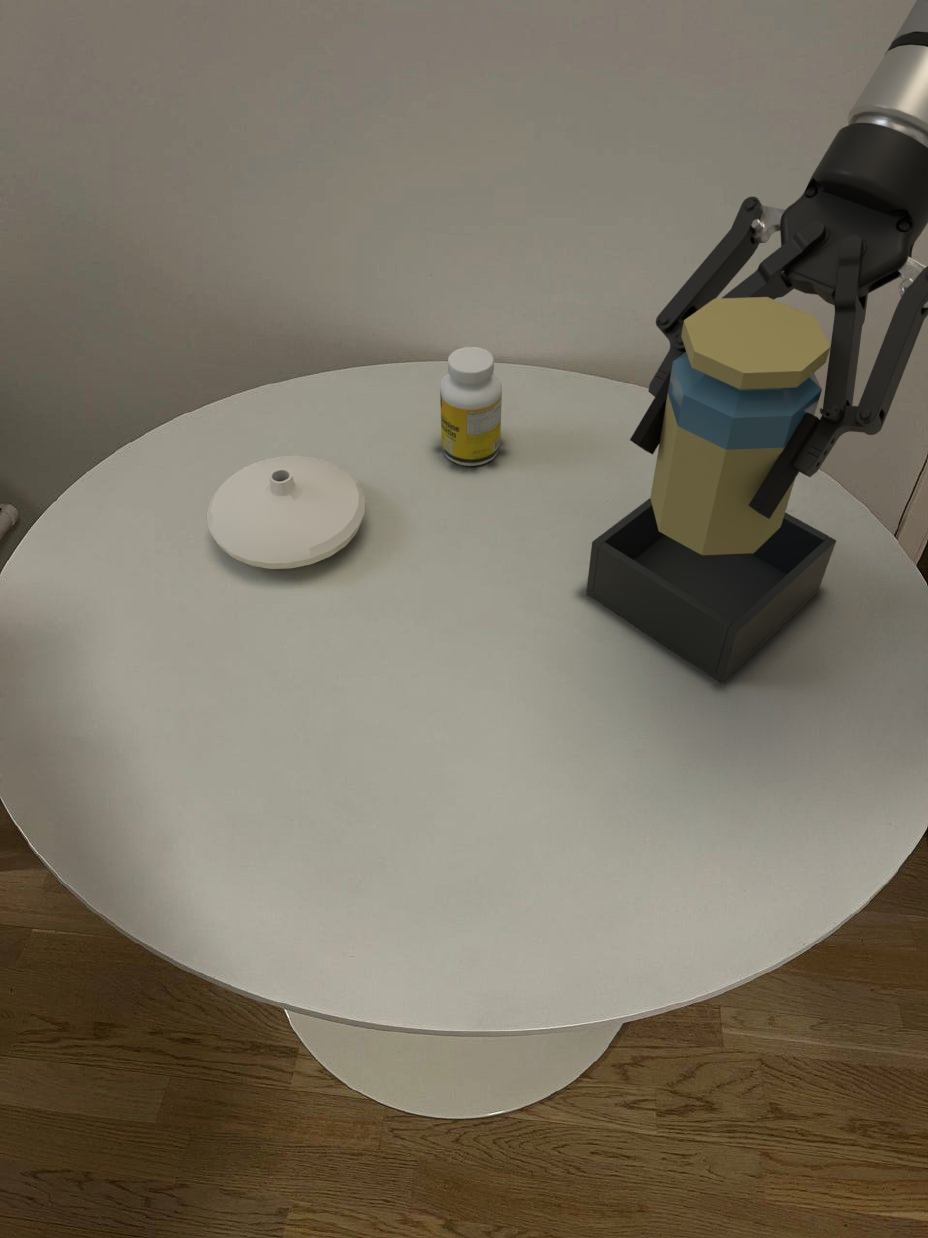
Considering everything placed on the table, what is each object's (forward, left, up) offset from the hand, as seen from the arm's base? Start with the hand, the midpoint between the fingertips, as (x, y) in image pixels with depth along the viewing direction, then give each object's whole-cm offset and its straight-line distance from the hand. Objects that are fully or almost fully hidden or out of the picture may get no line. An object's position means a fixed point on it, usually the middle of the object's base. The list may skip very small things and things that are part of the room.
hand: (698, 478), depth 65 cm
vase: (+41, +6, -27) cm, 49 cm away
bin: (+6, -16, -27) cm, 32 cm away
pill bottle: (+37, -16, -27) cm, 49 cm away
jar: (0, -3, -6) cm, 7 cm away
